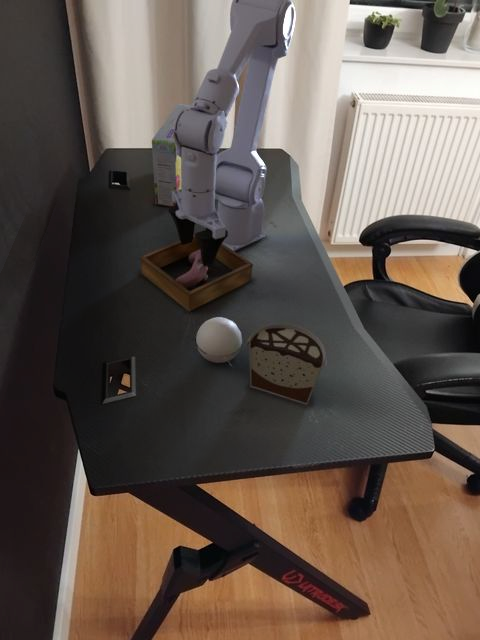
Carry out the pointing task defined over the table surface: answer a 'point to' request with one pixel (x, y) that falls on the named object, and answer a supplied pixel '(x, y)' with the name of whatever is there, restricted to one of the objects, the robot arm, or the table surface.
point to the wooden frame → (203, 293)
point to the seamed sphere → (218, 340)
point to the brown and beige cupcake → (285, 361)
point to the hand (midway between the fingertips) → (197, 253)
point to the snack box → (167, 160)
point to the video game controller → (194, 271)
